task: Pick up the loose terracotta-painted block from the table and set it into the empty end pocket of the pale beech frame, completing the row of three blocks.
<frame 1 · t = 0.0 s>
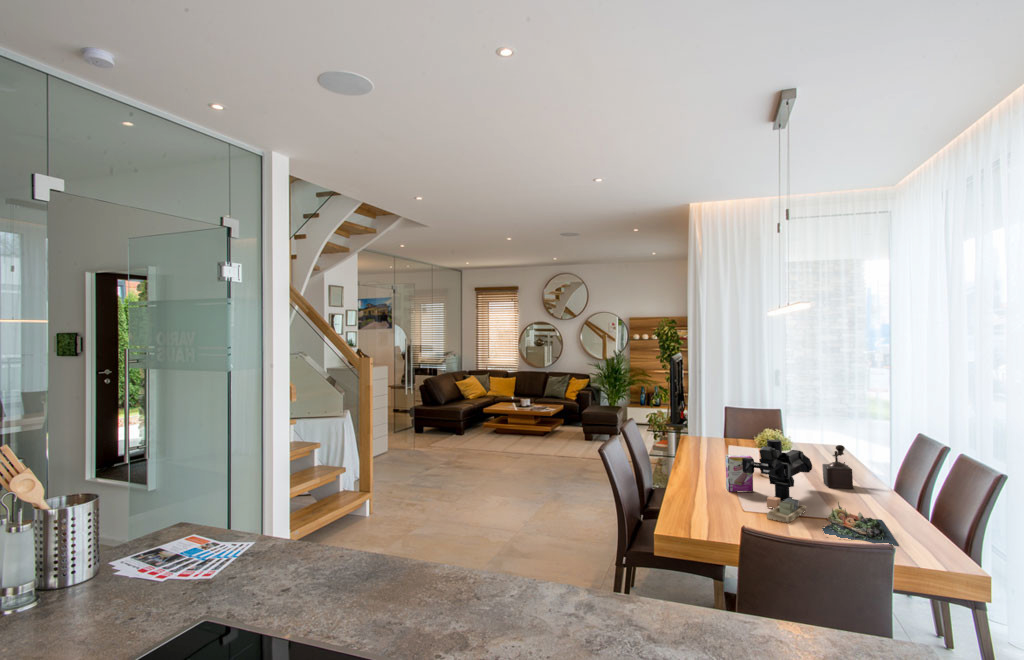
hand: (757, 471, 221), 17 cm above the table, tool horizontal, fingers open, 9 cm apart
plated dish: (854, 530, 200), on the table
block frame: (786, 514, 217), on the table
candy bar box: (739, 491, 252), on the table
terracotta block: (773, 507, 227), on the table
pepper mill: (837, 485, 259), on the table
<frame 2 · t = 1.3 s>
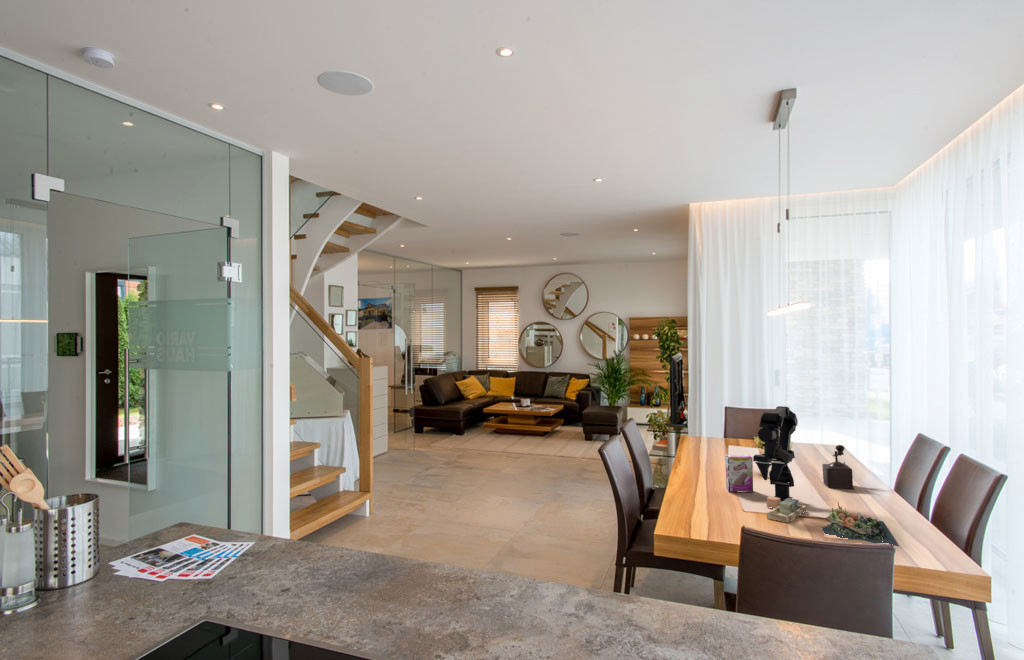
hand: (771, 480, 226), 12 cm above the table, tool pointing down, fingers open, 9 cm apart
nothing on the table moved.
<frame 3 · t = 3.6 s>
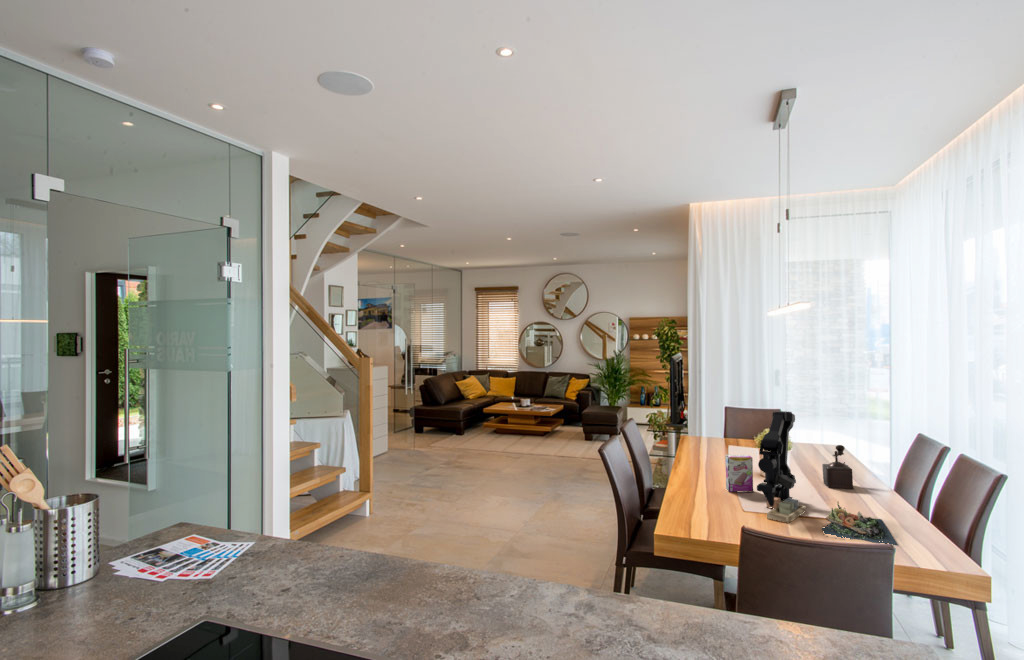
hand: (773, 505, 227), 1 cm above the table, tool pointing down, fingers closed on terracotta block, 4 cm apart
terracotta block: (773, 507, 227), on the table, touching gripper
everything else where it was.
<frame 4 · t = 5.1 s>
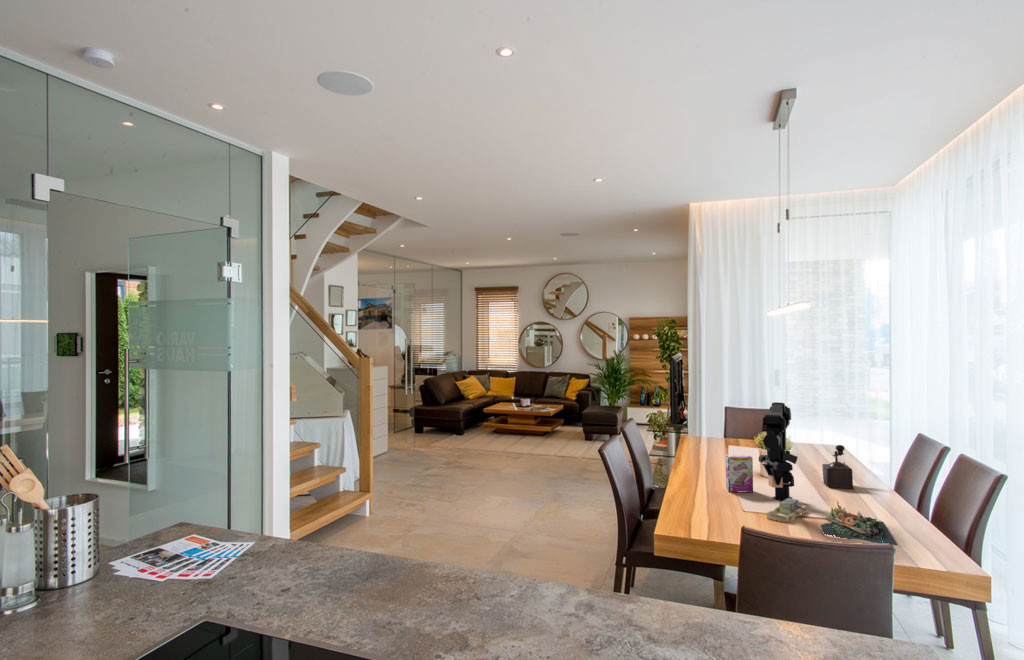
hand: (775, 483, 221), 12 cm above the table, tool pointing down, fingers closed on terracotta block, 4 cm apart
terracotta block: (775, 486, 221), point 11 cm above the table, touching gripper
everything else where it was.
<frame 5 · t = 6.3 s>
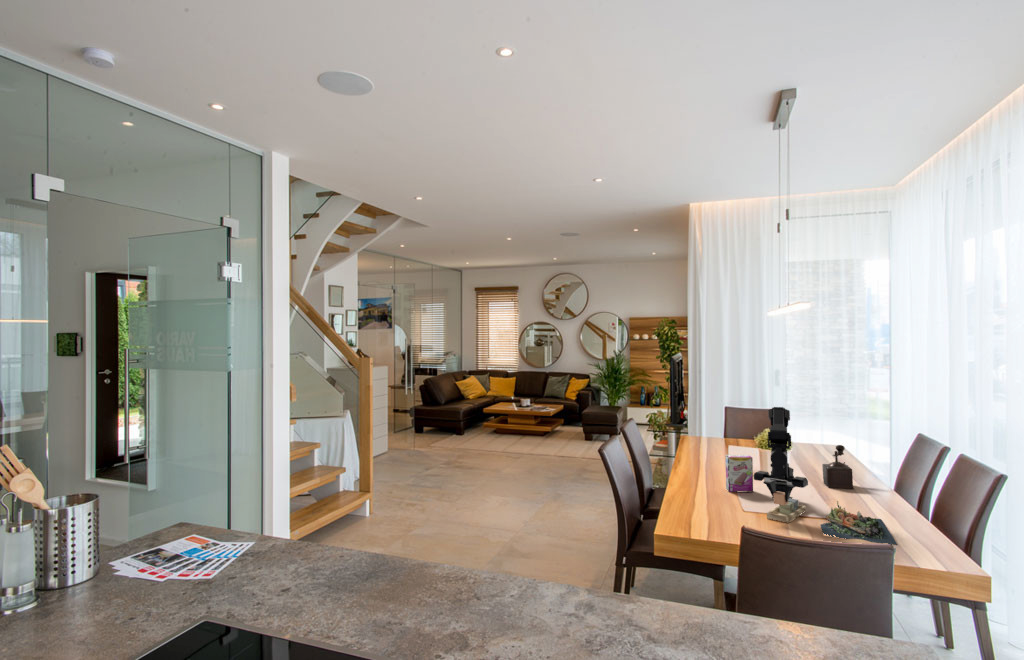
hand: (780, 500, 213), 7 cm above the table, tool pointing down, fingers closed on terracotta block, 4 cm apart
terracotta block: (781, 503, 213), point 6 cm above the table, touching gripper
everything else where it was.
when the fingers open (4 cm above the table, at t = 7.5 s): terracotta block drops 2 cm, resting on block frame.
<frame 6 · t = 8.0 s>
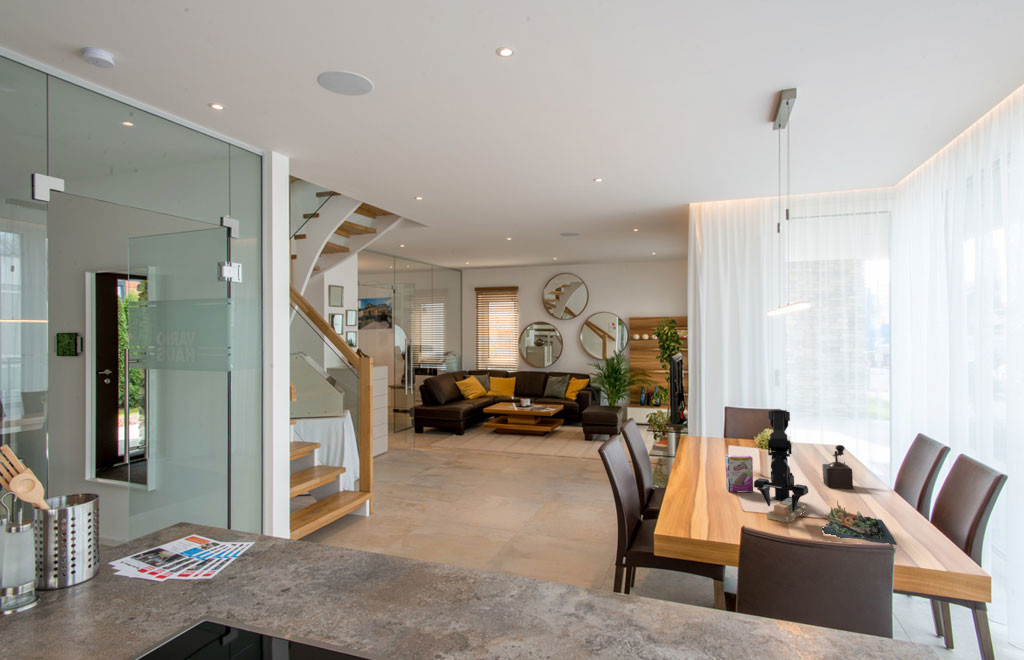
hand: (781, 508, 213), 4 cm above the table, tool pointing down, fingers open, 9 cm apart
terracotta block: (781, 516, 213), point 1 cm above the table, touching block frame
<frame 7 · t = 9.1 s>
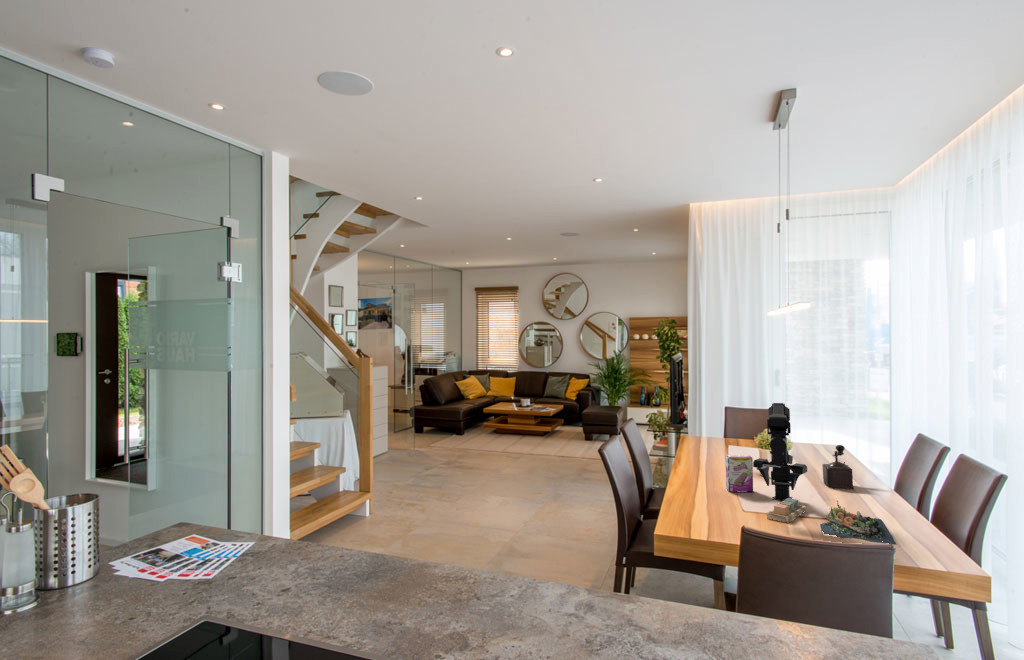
hand: (780, 487, 213), 12 cm above the table, tool pointing down, fingers open, 9 cm apart
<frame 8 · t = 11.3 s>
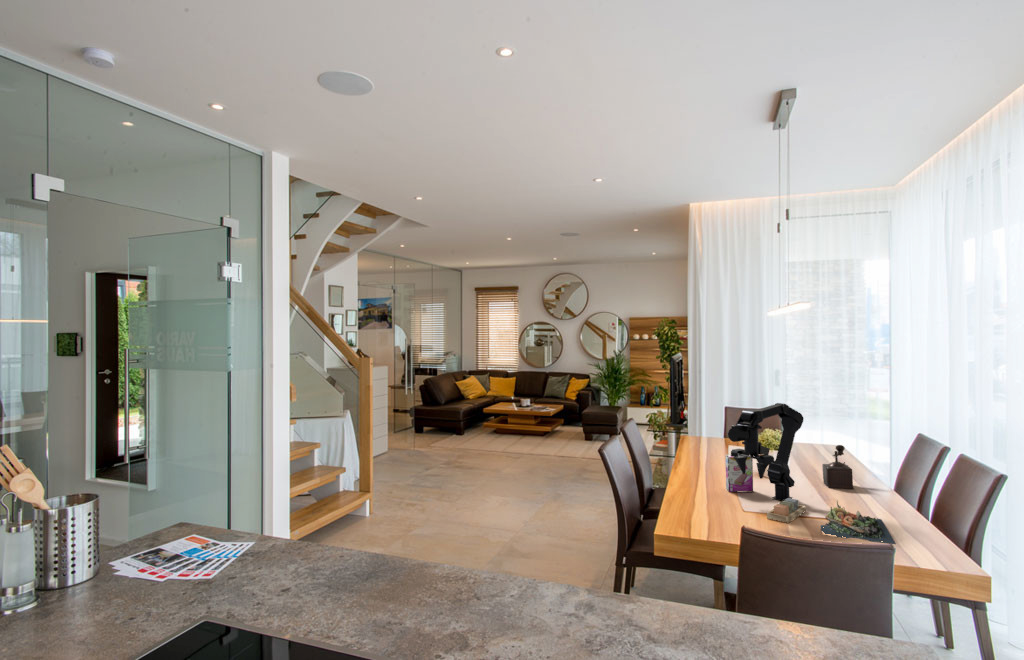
hand: (752, 476, 232), 12 cm above the table, tool pointing down, fingers open, 9 cm apart
at the end: terracotta block 0.1 cm from the target spot on the block frame, point 0.8 cm above the block frame's base; terracotta block tilted 0°; the gripper is holding nothing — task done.
